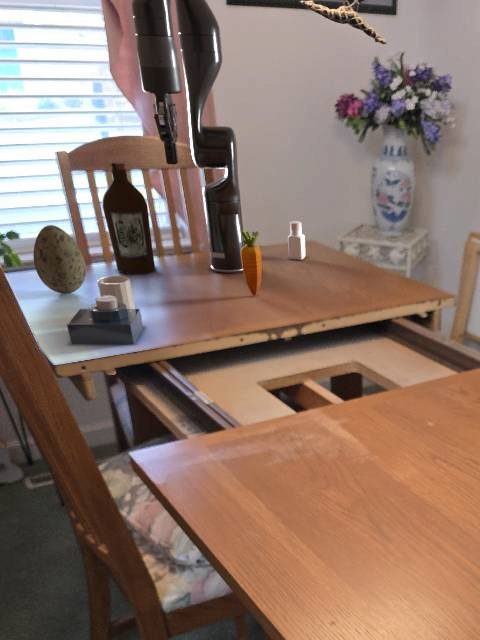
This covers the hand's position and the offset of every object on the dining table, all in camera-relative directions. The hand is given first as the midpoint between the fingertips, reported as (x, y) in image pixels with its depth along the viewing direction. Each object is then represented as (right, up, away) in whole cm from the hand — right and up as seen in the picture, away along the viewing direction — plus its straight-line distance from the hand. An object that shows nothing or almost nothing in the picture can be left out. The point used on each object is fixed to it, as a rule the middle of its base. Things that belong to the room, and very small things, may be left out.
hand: (172, 163), depth 148 cm
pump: (-11, -32, -6) cm, 35 cm away
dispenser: (-12, -37, -3) cm, 39 cm away
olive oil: (-22, -8, +38) cm, 45 cm away
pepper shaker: (+18, +1, +54) cm, 57 cm away
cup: (-14, -30, +7) cm, 34 cm away
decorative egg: (-32, -20, +20) cm, 43 cm away
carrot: (+12, -20, +23) cm, 33 cm away
